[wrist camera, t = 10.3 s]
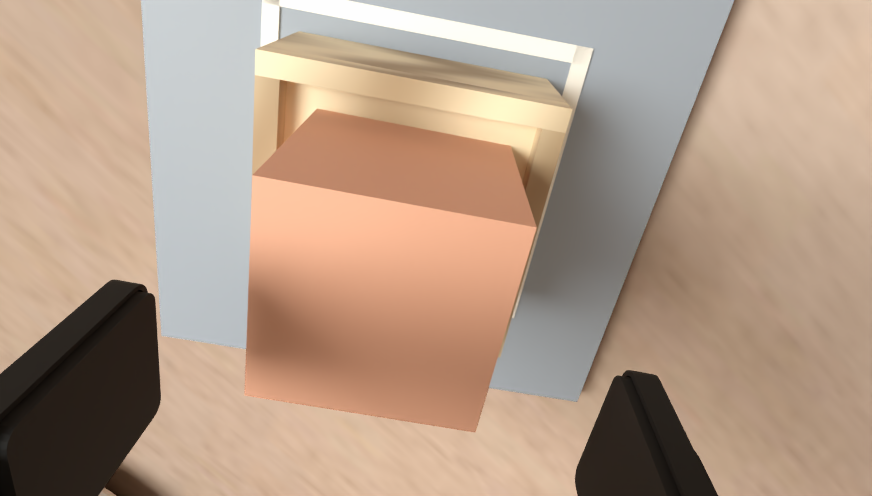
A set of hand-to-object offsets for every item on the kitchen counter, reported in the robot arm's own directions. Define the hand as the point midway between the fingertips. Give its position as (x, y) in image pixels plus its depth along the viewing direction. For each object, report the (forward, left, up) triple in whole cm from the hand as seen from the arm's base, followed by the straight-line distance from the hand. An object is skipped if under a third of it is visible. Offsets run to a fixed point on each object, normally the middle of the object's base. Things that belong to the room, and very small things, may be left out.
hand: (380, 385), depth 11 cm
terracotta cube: (0, 0, -8) cm, 8 cm away
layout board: (0, 0, -13) cm, 13 cm away
